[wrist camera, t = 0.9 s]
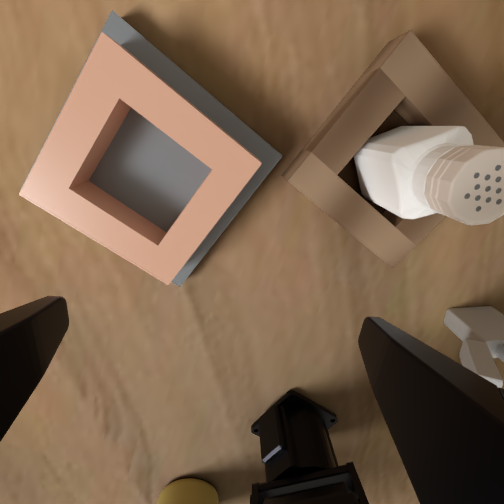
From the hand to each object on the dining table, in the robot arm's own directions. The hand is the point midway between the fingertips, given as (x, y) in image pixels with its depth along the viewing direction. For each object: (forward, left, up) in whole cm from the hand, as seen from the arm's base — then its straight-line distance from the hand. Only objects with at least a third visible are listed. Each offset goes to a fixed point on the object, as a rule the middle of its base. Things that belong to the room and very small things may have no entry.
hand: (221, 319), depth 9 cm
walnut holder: (-7, -9, -14) cm, 18 cm away
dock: (+5, +1, -14) cm, 15 cm away
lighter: (-22, -4, -14) cm, 26 cm away
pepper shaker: (-7, -9, -14) cm, 18 cm away
